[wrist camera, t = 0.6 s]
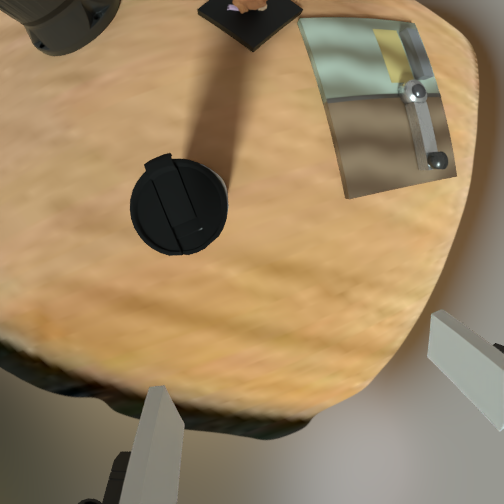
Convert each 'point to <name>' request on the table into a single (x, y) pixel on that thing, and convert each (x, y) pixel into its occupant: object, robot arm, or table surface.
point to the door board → (374, 100)
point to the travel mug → (178, 205)
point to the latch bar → (421, 126)
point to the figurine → (250, 18)
